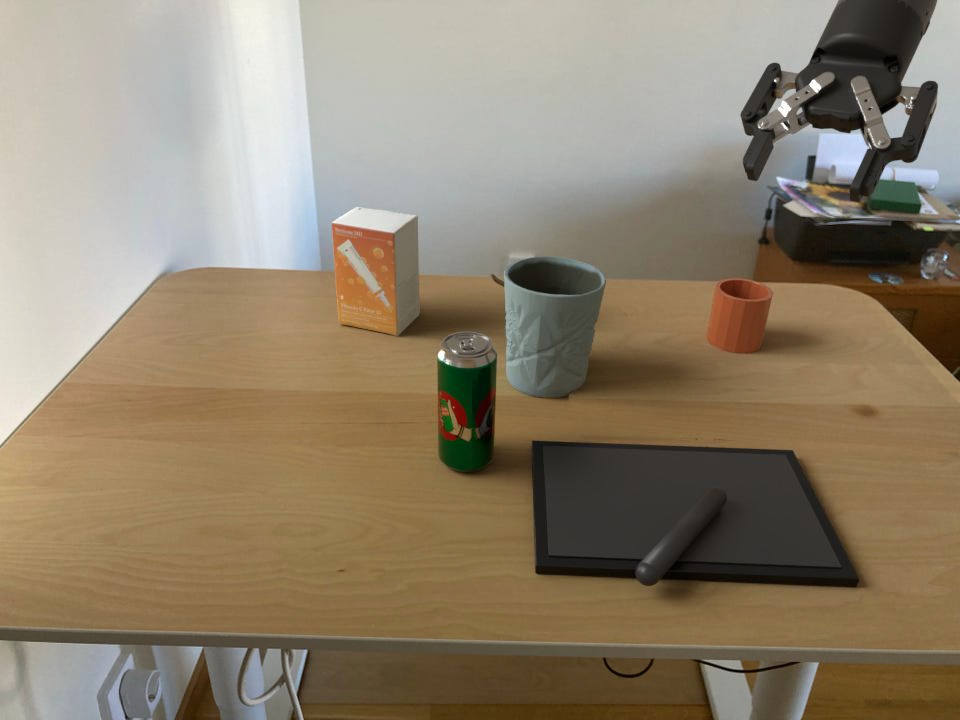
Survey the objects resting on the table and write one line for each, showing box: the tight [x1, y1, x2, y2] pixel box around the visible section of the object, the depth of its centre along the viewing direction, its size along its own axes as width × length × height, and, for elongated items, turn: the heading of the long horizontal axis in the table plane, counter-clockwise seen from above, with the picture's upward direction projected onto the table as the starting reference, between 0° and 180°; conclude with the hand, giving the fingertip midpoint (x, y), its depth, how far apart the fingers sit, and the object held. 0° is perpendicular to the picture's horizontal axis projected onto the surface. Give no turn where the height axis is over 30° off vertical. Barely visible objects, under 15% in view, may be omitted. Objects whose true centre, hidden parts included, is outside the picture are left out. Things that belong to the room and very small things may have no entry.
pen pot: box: [705, 277, 774, 354], centre depth 89 cm, size 6×6×7 cm
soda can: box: [436, 331, 498, 473], centre depth 68 cm, size 5×5×12 cm
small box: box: [331, 206, 421, 337], centre depth 91 cm, size 8×6×13 cm
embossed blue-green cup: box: [503, 255, 607, 399], centre depth 81 cm, size 10×10×12 cm
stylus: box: [635, 486, 727, 587], centre depth 60 cm, size 2×2×13 cm
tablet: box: [530, 439, 860, 588], centre depth 65 cm, size 24×16×1 cm, turn 88°
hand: (800, 185), depth 64 cm, fingers open, 8 cm apart
